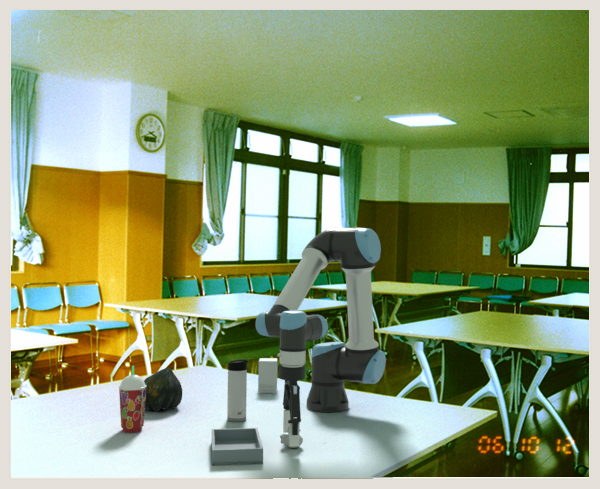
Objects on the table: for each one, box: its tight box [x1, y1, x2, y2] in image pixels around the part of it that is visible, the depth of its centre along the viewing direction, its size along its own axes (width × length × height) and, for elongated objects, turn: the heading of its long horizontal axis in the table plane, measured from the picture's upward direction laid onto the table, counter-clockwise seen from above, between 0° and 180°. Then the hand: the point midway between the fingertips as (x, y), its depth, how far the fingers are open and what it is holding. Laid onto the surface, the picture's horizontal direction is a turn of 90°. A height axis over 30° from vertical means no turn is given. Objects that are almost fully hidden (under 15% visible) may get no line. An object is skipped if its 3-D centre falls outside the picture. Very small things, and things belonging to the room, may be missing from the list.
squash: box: [143, 367, 183, 412], centre depth 228 cm, size 14×15×15 cm
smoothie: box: [118, 365, 147, 434], centre depth 201 cm, size 8×8×20 cm
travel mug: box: [226, 358, 249, 423], centre depth 215 cm, size 6×7×20 cm
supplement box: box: [257, 357, 278, 394], centre depth 256 cm, size 7×7×13 cm
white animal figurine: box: [279, 426, 304, 449], centre depth 186 cm, size 5×7×8 cm
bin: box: [211, 427, 264, 466], centre depth 181 cm, size 13×19×4 cm
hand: (290, 438), depth 186 cm, fingers open, 13 cm apart
